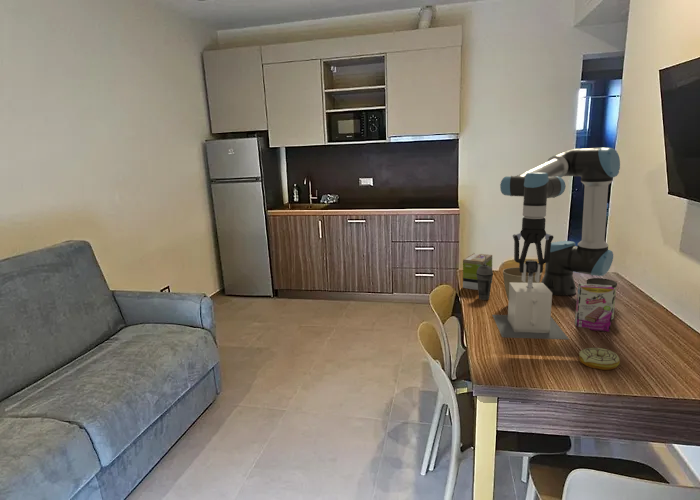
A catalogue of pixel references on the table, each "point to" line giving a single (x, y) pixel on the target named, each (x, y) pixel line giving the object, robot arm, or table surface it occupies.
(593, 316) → the candy bar box
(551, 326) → the charcoal mat
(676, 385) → the table surface
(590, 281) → the coffee can
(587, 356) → the decorated donut
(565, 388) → the table surface
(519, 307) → the white block with hole
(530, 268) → the plunger
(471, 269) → the tea box
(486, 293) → the beverage cup
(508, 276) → the plant pot
